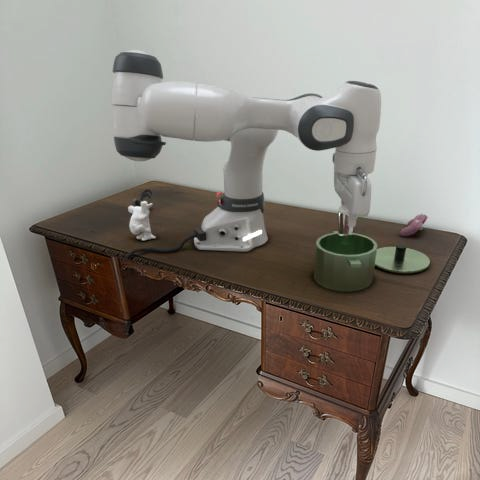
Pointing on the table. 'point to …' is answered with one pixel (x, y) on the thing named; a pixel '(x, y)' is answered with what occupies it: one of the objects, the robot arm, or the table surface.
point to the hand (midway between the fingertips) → (348, 221)
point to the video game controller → (414, 225)
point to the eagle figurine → (143, 198)
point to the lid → (401, 259)
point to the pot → (344, 262)
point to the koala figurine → (141, 221)
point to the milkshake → (344, 226)
